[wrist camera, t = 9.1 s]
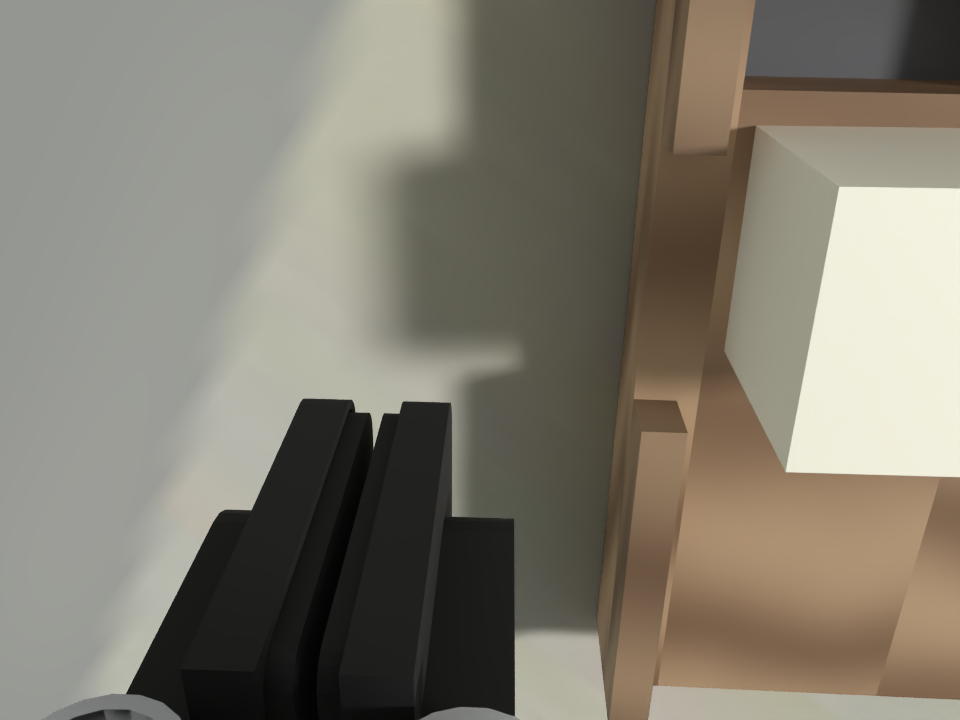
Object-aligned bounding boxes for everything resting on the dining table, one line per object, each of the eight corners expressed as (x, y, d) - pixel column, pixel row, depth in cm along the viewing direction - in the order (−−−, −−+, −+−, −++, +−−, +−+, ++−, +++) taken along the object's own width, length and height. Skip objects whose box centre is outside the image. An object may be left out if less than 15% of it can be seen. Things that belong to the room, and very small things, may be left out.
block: (949, 355, 19) (1081, 480, 15) (724, 350, 19) (785, 472, 15) (1010, 128, 17) (1188, 192, 12) (756, 125, 17) (839, 186, 13)
